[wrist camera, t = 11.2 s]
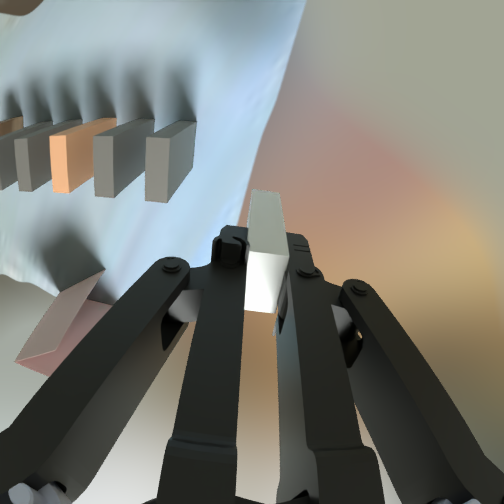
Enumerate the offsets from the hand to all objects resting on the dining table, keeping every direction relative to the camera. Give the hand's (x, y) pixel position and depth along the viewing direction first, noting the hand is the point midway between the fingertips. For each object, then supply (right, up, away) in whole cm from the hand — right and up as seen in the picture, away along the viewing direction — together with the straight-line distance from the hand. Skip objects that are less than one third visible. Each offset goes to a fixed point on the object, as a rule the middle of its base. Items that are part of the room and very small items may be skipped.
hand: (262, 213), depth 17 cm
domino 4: (-7, +9, +13) cm, 17 cm away
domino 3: (-12, +10, +12) cm, 20 cm away
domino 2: (-21, +11, +12) cm, 26 cm away
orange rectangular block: (-16, +10, +12) cm, 23 cm away
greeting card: (-25, -7, +23) cm, 34 cm away
